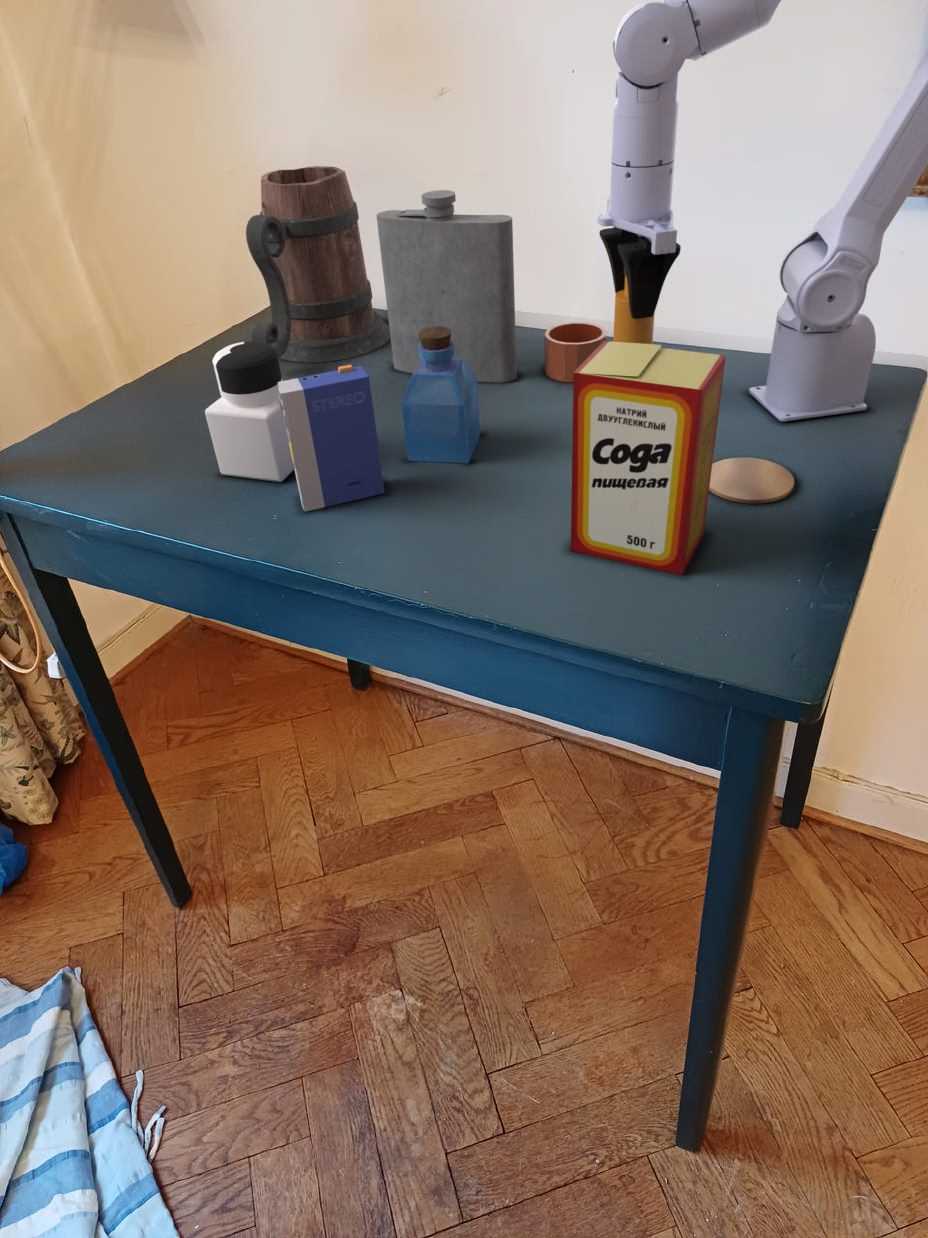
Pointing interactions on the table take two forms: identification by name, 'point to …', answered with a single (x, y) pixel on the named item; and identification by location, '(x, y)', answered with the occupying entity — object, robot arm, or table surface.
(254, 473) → the medicine bottle
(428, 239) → the hip flask
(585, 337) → the cup
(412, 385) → the perfume bottle
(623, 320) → the bottle
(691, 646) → the table surface
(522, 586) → the table surface
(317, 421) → the walkman
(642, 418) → the baking soda box
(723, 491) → the coaster
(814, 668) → the table surface
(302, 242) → the tankard
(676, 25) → the robot arm
